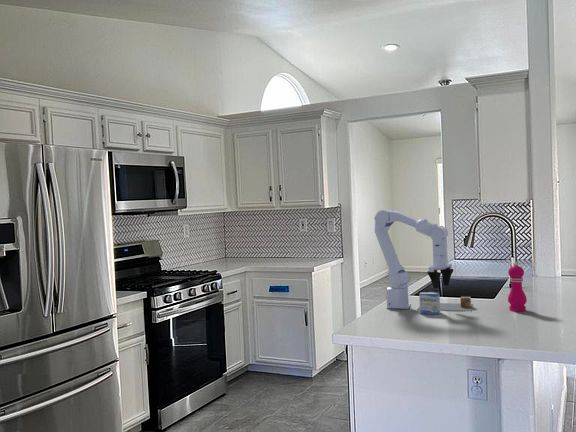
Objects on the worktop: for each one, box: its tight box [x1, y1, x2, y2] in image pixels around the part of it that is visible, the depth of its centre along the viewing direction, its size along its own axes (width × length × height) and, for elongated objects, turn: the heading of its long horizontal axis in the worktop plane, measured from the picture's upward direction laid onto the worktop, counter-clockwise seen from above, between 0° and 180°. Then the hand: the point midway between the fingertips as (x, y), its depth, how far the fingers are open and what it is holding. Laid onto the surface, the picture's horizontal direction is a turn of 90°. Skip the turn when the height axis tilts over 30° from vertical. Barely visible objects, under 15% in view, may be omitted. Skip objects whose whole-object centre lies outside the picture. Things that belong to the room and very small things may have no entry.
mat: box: [416, 302, 473, 312], centre depth 232 cm, size 22×15×1 cm
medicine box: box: [418, 291, 441, 315], centre depth 221 cm, size 8×4×9 cm, turn 68°
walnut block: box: [460, 296, 472, 308], centre depth 230 cm, size 4×4×4 cm
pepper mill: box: [507, 261, 528, 313], centre depth 219 cm, size 7×7×20 cm
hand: (441, 286), depth 224 cm, fingers open, 7 cm apart
